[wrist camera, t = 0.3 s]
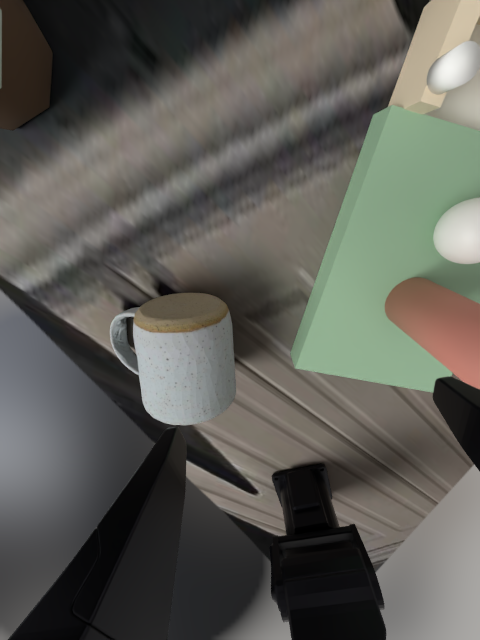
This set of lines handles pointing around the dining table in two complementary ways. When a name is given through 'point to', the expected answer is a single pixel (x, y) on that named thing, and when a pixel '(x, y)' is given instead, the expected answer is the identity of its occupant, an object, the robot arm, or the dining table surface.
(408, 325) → the salmon pink cylinder
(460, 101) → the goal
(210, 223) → the dining table surface
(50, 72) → the beer bottle
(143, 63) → the dining table surface
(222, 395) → the ceramic mug
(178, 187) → the dining table surface
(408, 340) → the pitch
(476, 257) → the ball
